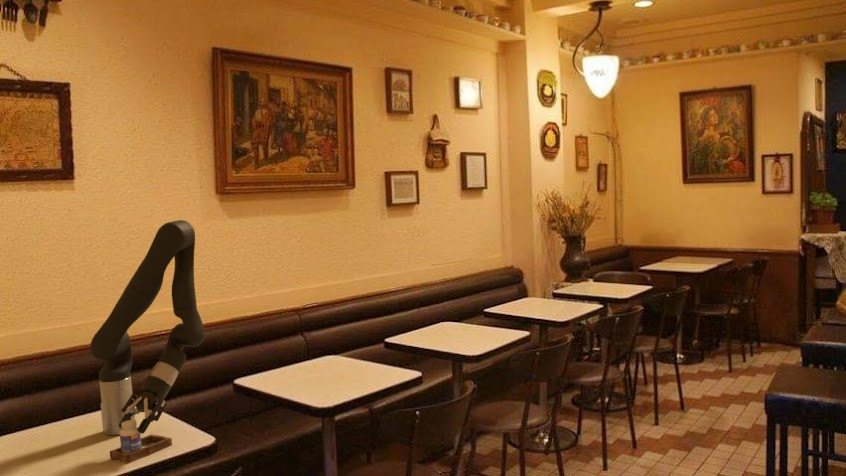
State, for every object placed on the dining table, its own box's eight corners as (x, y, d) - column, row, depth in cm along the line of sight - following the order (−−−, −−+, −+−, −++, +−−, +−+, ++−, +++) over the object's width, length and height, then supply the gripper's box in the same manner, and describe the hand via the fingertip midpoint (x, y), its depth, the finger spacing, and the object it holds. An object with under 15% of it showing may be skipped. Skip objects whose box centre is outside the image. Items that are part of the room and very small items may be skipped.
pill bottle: (134, 458, 199) (131, 425, 198) (118, 458, 200) (114, 425, 199) (146, 451, 204) (142, 418, 204) (129, 451, 205) (126, 418, 205)
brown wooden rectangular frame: (109, 458, 201) (108, 451, 201) (152, 441, 213) (151, 434, 213) (129, 463, 196) (128, 455, 196) (172, 445, 209) (171, 437, 208)
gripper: (136, 372, 212) (106, 421, 203) (167, 376, 205) (137, 427, 196) (152, 384, 217) (123, 432, 208) (183, 389, 210) (155, 439, 201)
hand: (130, 430), depth 202 cm, fingers open, 8 cm apart
